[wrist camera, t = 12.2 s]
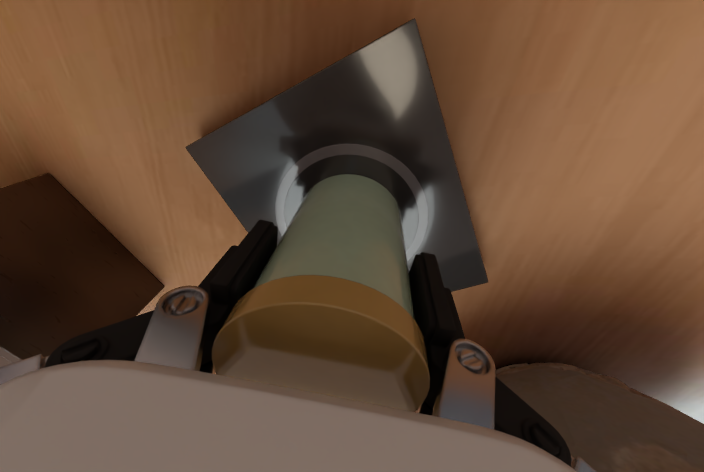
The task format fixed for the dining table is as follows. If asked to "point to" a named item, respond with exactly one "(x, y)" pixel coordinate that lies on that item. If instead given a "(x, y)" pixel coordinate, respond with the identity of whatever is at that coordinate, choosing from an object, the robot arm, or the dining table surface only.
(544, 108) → the dining table surface
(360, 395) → the jar
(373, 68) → the hob
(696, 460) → the ceramic bowl
